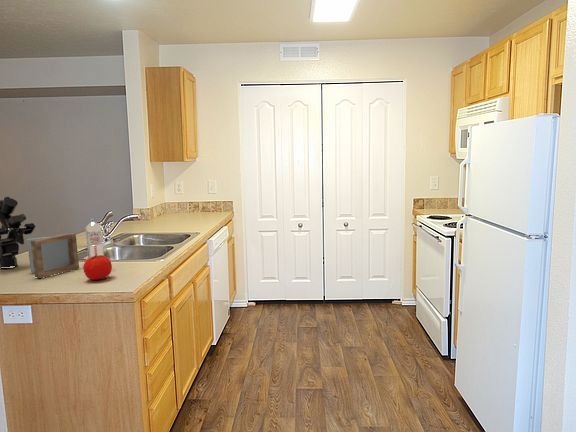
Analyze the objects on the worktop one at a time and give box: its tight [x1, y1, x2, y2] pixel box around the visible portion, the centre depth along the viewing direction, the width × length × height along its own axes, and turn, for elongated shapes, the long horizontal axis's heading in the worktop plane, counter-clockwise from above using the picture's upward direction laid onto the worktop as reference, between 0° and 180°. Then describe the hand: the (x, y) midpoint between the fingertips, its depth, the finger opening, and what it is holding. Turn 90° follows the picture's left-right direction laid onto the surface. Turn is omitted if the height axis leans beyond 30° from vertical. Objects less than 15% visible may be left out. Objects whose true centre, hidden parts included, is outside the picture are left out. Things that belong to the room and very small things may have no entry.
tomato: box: [82, 254, 113, 281], centre depth 198 cm, size 12×12×11 cm
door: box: [26, 236, 70, 273], centre depth 217 cm, size 3×17×16 cm, turn 117°
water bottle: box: [85, 218, 105, 259], centre depth 213 cm, size 7×7×25 cm
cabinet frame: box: [31, 232, 80, 279], centre depth 211 cm, size 4×20×18 cm, turn 152°
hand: (23, 243), depth 218 cm, fingers closed
